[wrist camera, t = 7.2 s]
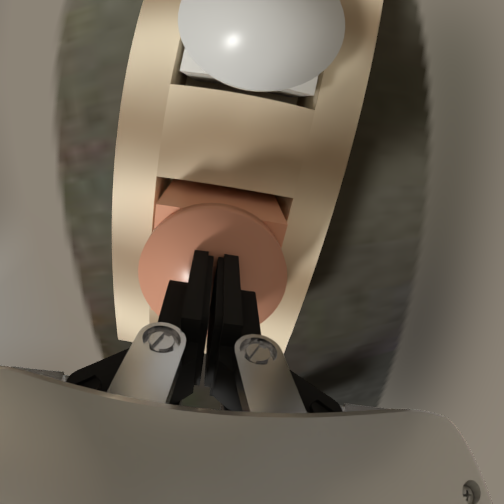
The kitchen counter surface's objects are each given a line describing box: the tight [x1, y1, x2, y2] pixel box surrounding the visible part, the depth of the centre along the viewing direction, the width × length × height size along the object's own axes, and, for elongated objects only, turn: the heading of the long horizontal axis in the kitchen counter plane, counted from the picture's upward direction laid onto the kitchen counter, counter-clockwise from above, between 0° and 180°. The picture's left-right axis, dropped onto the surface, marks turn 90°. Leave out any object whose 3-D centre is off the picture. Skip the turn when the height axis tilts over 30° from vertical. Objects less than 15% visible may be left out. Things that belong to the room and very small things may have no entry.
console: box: [112, 0, 383, 354], centre depth 14 cm, size 24×10×5 cm, turn 169°
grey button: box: [178, 0, 345, 97], centre depth 10 cm, size 6×6×6 cm
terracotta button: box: [138, 179, 288, 331], centre depth 14 cm, size 6×6×6 cm
